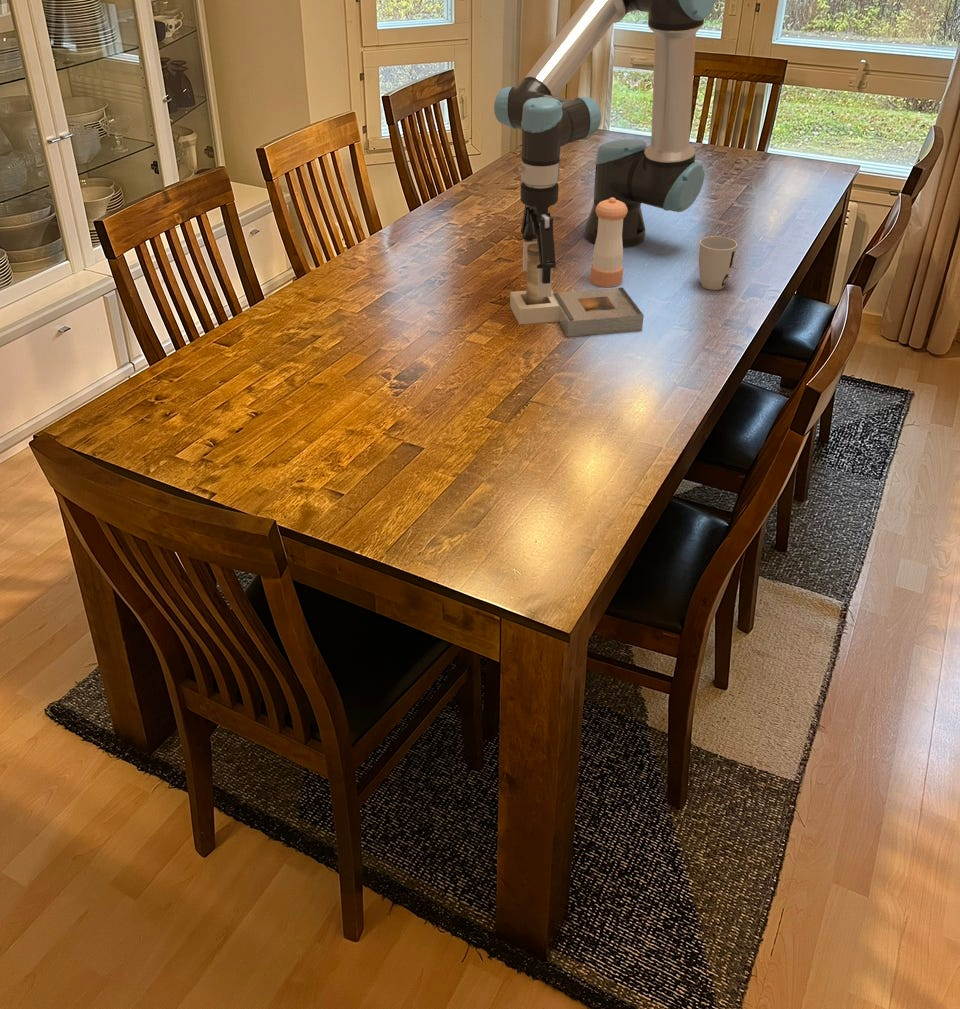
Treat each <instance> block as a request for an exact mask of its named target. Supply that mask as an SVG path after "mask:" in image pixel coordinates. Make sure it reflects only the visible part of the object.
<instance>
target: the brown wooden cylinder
mask: <svg viewBox="0 0 960 1009" xmlns="http://www.w3.org/2000/svg"><path fill="white" fill-rule="evenodd" d="M537 265H540V261H539V253H538V246H537V243H533V244H530V245H528V247H527V271H526V287H525V289H526V290H525V291H526V305H534V304H545V297H540V298H538V296H537V295H538V269H537Z"/></svg>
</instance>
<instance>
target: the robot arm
mask: <svg viewBox="0 0 960 1009" xmlns="http://www.w3.org/2000/svg"><path fill="white" fill-rule="evenodd" d="M715 2H717V0H584V1H583V2H582V3H581V5H580V6H579V7H578V8H577V10H576V11H575V12H574V13H573V15H572V16H571V17H570V19H569V20H568V22H566V24H565V25H564V26H563V27H562V29H561V30H560V32H559V33H558V34H557V35H556V37H555V38H554V39H553V41H552V42H551V43H550V44H549V45H548V47H547V48H546V50H545V51H544V53H542V55H541V56H540V57H539V59H538V60H537V61H536V62H535V64H534V65H533V67H532V68H531V69H530V70H529V71H528V73H527V74H526V75H525V77H524V78H523V80H521V82H520V83H519V85H518V86H517V87H516V86H506V87H504V88H502V89H501V90H499V91H498V93H497V94H496V97H495V100H494V102H493V103H494V104H493V105H494V106H493V111H494V116H495V118H496V120H497V121H498V122H499V124H501V125H504V126H506V127H509V128H512V129H515V130H516V129H518V130H521V157H520V158H521V166H519V167H518V172H520V174H521V175H520V179H521V182H522V183H521V184H520V201H521V204H523V205H524V208H523V209H524V210H523V215H522V222H521V229H520V233H521V235H522V239H523V244H522V247H523V248H522V272H527V247H528V245H530V244H533V243H537V246H538V253H539V261H540V265H537V269H538V295H537V296H538V298H540V297H551V289H553V288H552V283H553V282H552V281H553V269H555V268H557V263H556V253H555V252H556V251H555V238H554V237H555V236H554V217H553V216H551V212H549V208H550V207H552V206H554V205H556V204H557V203H558V202H559V201H558V200H559V188H560V187H559V183H558V182H559V181H560V168H561V166H560V164H561V160H560V157H561V155H560V153H561V147H563V146H565V145H569V144H572V143H574V142H577V141H580V140H581V141H582V140H584V139H587V137H590V136H591V135H593V134H595V133H596V132H597V131H598V129H600V125H601V123H602V122H601V121H602V113H601V108H600V107H599V105H598V103H597V102H596V101H595V100H594V99H593V98H591V97H589V96H582V97H575V98H574V99H569V98H564V97H559V96H558V95H559V94H560V93H561V91H562V90H563V89H564V88H565V86H566V85H567V84H568V83H569V82H570V80H571V78H572V77H573V76H574V75H575V73H576V72H577V71H578V70H579V68H580V67H581V66H582V64H583V63H584V61H585V60H586V59H587V58H588V56H589V55H590V54H591V52H592V51H593V50H594V48H596V46H597V45H598V44H599V42H600V41H601V40H602V38H603V37H604V36H605V35H606V33H607V32H608V31H609V29H610V28H611V27H612V25H613V24H617V23H620V22H621V21H622V20H623V19H624V17H625V16H626V15H627V14H629V13H631V12H634V11H640V12H644V13H648V15H647V17H648V18H647V19H648V20H647V27H648V28H649V29H650V30H651V32H653V33H654V50H653V52H654V54H653V78H652V79H653V84H652V85H653V86H652V109H651V110H652V111H651V112H652V113H651V135H650V137H651V139H650V140H651V142H650V144H648V146H647V143H646V142H645V140H642V139H634V138H631V139H630V138H629V139H627V138H625V139H617V140H616V139H615V140H612V141H611V140H610V141H607V142H604V143H602V144H600V146H599V147H598V149H597V151H596V159H595V172H594V174H595V175H594V187H593V188H594V190H593V204H592V207H591V209H590V212H589V214H588V216H587V220H586V222H585V224H584V225H585V226H584V231H583V232H584V234H583V236H584V237H585V238H584V239H586V240H587V241H588V242H590V243H592V244H594V245H595V242H596V238H597V230H598V218H599V217H598V216H597V214H596V211H595V209H596V207H597V205H598V204H599V202H601V201H604V200H608V199H609V198H612V197H613V198H615V199H616V200H619V201H621V202H623V203H625V205H626V207H627V210H628V212H627V214H626V216H625V217H624V218H623V229H622V243H623V248H626V247H627V248H628V247H633V246H636V245H639V244H641V243H643V242H644V240H645V238H646V225H645V220H644V216H643V213H642V212H643V211H642V208H641V206H642V204H644V205H648V206H651V207H655V208H657V209H658V208H659V209H662V210H664V211H668V212H669V211H670V212H675V213H682V212H685V211H686V210H689V209H690V207H691V206H692V205H693V204H694V203H695V201H696V199H697V198H698V197H699V195H700V193H701V190H702V187H703V185H704V180H705V172H706V171H705V168H704V166H703V164H702V163H700V162H699V161H696V148H695V147H694V145H692V144H691V143H690V139H691V138H690V137H691V136H690V135H691V124H692V123H691V122H692V121H691V120H692V105H693V103H692V102H693V88H694V87H693V86H694V73H695V71H694V70H695V57H696V56H695V54H696V42H697V38H696V37H697V32H698V31H699V30H700V29H702V27H703V26H704V25H705V24H704V23H705V20H706V19H707V18H708V17H709V16H710V15H712V14H711V13H712V12H713V11H714V9H715Z"/></svg>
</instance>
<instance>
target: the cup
mask: <svg viewBox="0 0 960 1009" xmlns="http://www.w3.org/2000/svg"><path fill="white" fill-rule="evenodd" d="M737 248H738V242H737V241H735V240H734V239H732V238H729V237H725V236H719V235H718V236H717V235H713V236H706V237H703V238H702V239H700V240H699V248H698V249H699V251H698V252H699V253H698V270H699V271H698V272H699V273H698V274H699V279H700V285H701V287H702V288H704V289H706V290H711V291H718V290H722V289H724V287H725V285H726V283H727V282H728V279H729V277H730V275H731V271H732V268H733V265H734V261H735V258H736V252H737Z"/></svg>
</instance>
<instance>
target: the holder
mask: <svg viewBox="0 0 960 1009" xmlns="http://www.w3.org/2000/svg"><path fill="white" fill-rule="evenodd" d="M552 293H553V294H552ZM554 293H555V292H554V291H553V288H551V297H545V304H534V305H526V290H516V291H510V294H509V295H510V298H509V300H510V302H509V303H510V304H509V305H510V306H509V307H510V309H511V311H512V313H513V315H514V318H515V319H516V321H517V323H518V325H520V326H521V324H522V325H530V324H531V325H532V324H543V323H544V324H545V323H555V322H556V323H557V322H559V305H560V303H559V305H558V301H557V298H556V297H553V296H555V295H554Z"/></svg>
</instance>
